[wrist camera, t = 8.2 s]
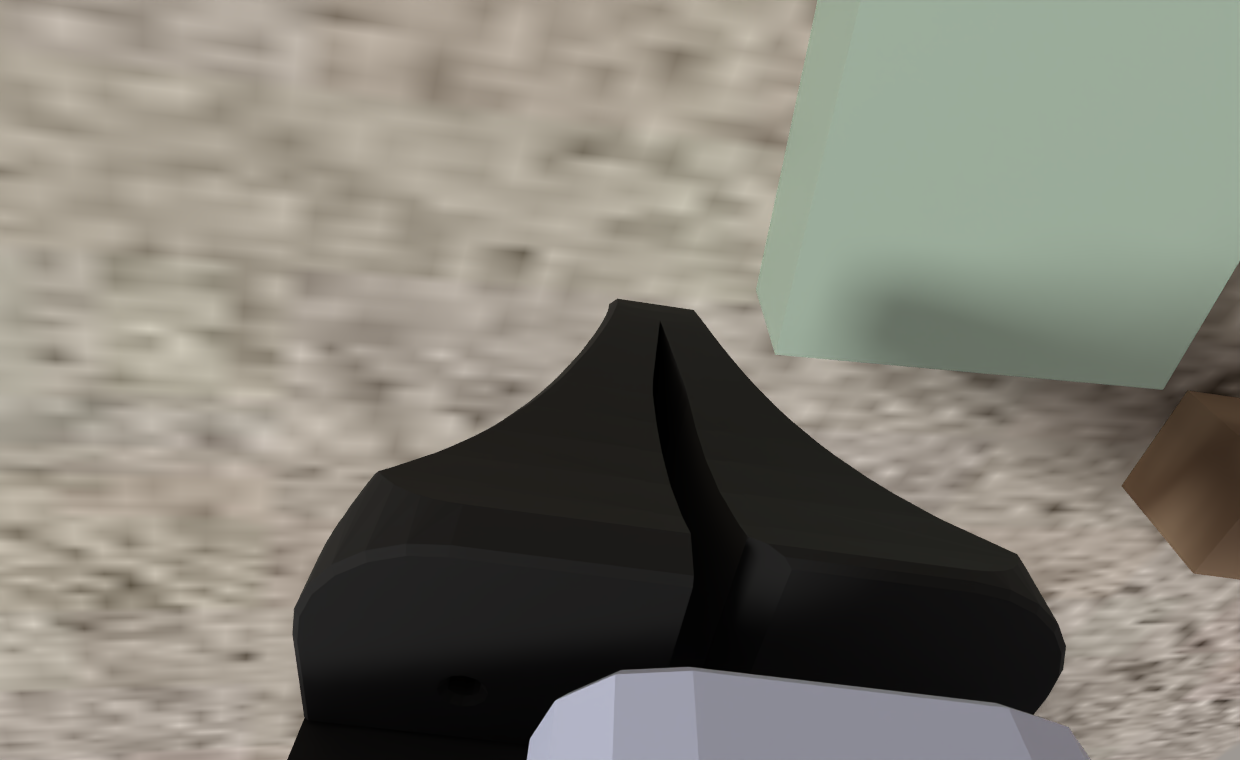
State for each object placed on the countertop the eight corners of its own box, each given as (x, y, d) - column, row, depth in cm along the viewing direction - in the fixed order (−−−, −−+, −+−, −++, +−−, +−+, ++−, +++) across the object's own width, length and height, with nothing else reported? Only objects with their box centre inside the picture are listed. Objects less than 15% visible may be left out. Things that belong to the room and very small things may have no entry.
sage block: (1083, 315, 22) (1163, 389, 19) (754, 284, 22) (775, 354, 18) (1274, -73, 17) (1435, -67, 13) (839, -121, 16) (891, -128, 13)
